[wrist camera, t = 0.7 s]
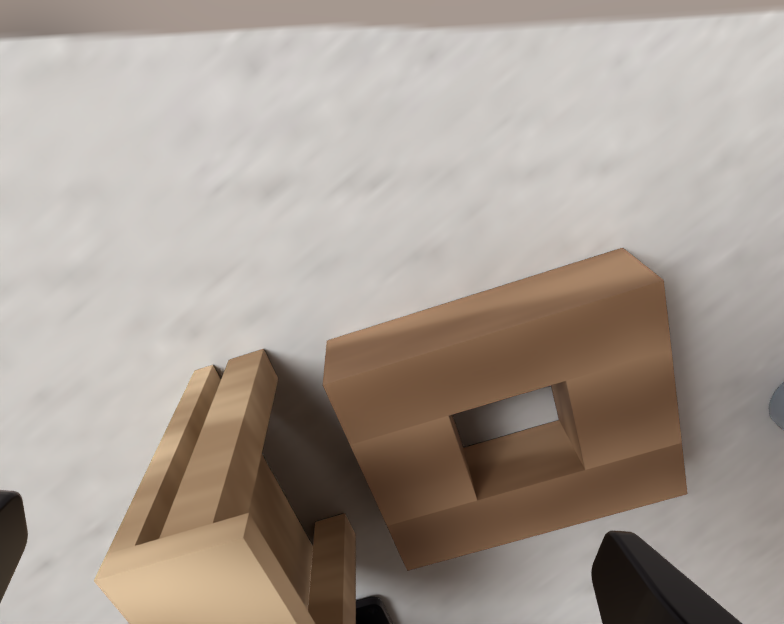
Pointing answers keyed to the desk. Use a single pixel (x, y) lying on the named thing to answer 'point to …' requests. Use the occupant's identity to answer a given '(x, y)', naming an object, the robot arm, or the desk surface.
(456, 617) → the desk surface
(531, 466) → the socket station
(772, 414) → the peg
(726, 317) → the desk surface
